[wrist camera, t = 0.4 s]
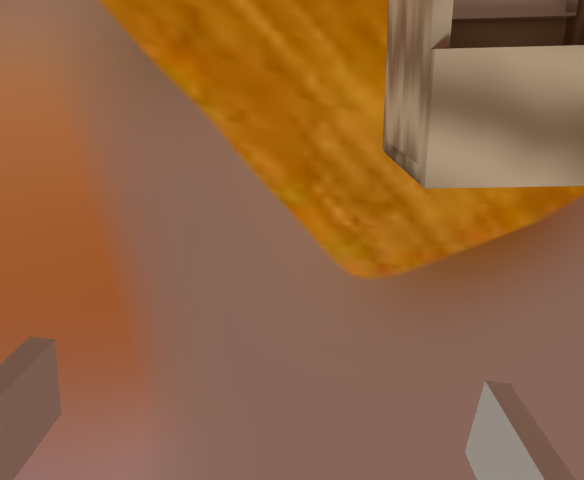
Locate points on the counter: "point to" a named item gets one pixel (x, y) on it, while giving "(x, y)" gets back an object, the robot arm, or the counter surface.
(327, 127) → the counter surface
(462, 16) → the tray
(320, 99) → the counter surface
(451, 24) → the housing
